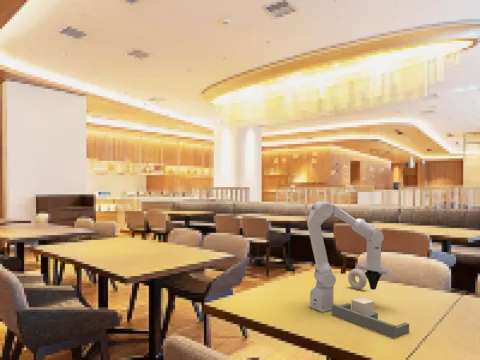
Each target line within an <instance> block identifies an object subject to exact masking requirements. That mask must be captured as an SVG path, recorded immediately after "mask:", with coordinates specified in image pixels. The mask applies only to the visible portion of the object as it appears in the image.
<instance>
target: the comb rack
mask: <svg viewBox="0 0 480 360" xmlns="http://www.w3.org/2000/svg"><path fill="white" fill-rule="evenodd" d="M331 316H334V317H336V318H339V319H341V320H343V321H346V322H350V323H351V324H355V325H356V324H357V326H360V327H362V328H364V327H365V329H367V328H368V330H370V329H371V330H370V331H372V330H373V331H372V332H375V331H376V332H375V333H377V332H378V333H377V334H380V333H381V334H380V335H383V334H384V335H383V336H385V335H386V337H388V336H389V337H388V338H390V337H391V339H395V337H396V338H399V337H400V336H401V337H402V336H403V335H405V334H409V333H410V323H408V322H403V323H399V324H397V325H395V324H392V323H389V322H386V321H384V320H381V319H379V313H378V312H375V311H374V312H373V313H370V314H367V315H364V314H361V313H358V312H355V311H353V310H352V303H348V302H347V303H343V304H339V305H338V304H335V303H333V305H332V310H331Z"/></svg>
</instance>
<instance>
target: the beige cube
mask: <svg viewBox="0 0 480 360" xmlns="http://www.w3.org/2000/svg"><path fill="white" fill-rule="evenodd" d="M351 310H353V311H355V312H358V313H361V314H364V315H367V314H370V313H373V312H375V300H371V299H369V298H365V297H358V298H354V299H351Z"/></svg>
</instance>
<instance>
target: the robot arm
mask: <svg viewBox="0 0 480 360" xmlns="http://www.w3.org/2000/svg"><path fill="white" fill-rule="evenodd" d="M330 217H336V218H338V219H339V220H341V221H343V222H345V223H347V224H349V225H350V227H351V230H352V231H354V232H355V233H357V234H359V235H360V236H362V237H363V238H364V239H365V240H366V264H362V263H359V264H358V263H357V269H360V270H362V271H363V270H364V274H365V276H366V280H367V281H368V283H369V288H370V290H373V291H374V290H377V287H378V284H379V281H380V278H381V277H382V276H383V275H384V276H390V275H391V270H389V269H387V268H384V267H382V262H381V261H382V243H383V241H384V240H385V236H384V234H383V232H382V231H381V230H380V229H378V228H375V225H373V224H370V223H369V222H366V219H364V218H359V217H358V218H355V217H353V216H352V215H350V214H349V213H347V212H346V211H345V210H343V209H341V208H340V207H339V206H337V205H335V204H332V203H331V202H329V201H322V200H317V201H315V202H314V203H313V204H312V205H311V206H310V210H309V215H308V218H307V222H306V223H307V229H308V230H307V231H308V234H309V239H310V243H311V248H312V252H313V256H314V257H313V258H314V261H315V264H314V275H313V276H314V279H315V281H316V283H315V286H314V287H313V288H311V290H310V293H309V305H308V308H311V309H314V310H316V311H319V312H321V313H324V312H328V311H332V305H334V293H335V291H334V288H335V287H334V286H335V284H336V282H337V278H336V275H335V274H334V272H333V271H332V270H333V269H332V267H331V265H330V263H329V259H328V254H327V250H326V245H325V242H324V237H323V233H322V232H323V231H322V227H321V225H322V224H323V223H324V222H325V221H326V220H327V219H329V218H330Z"/></svg>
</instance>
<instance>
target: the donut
mask: <svg viewBox="0 0 480 360" xmlns="http://www.w3.org/2000/svg"><path fill="white" fill-rule="evenodd" d="M356 277H358V279H359V281H358V282H357V280H356ZM347 279H348V283H349V285H350V286H351V288H352V289H355V290H358V291H360V290H363V289H364V288H365V287H366V285H367V283H368V282H367V281H368V279H367V276H366V275H365V271H364V272H363V270H362V269H358V268H353V269H351V270H350V271H349V273H348V275H347Z"/></svg>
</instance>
